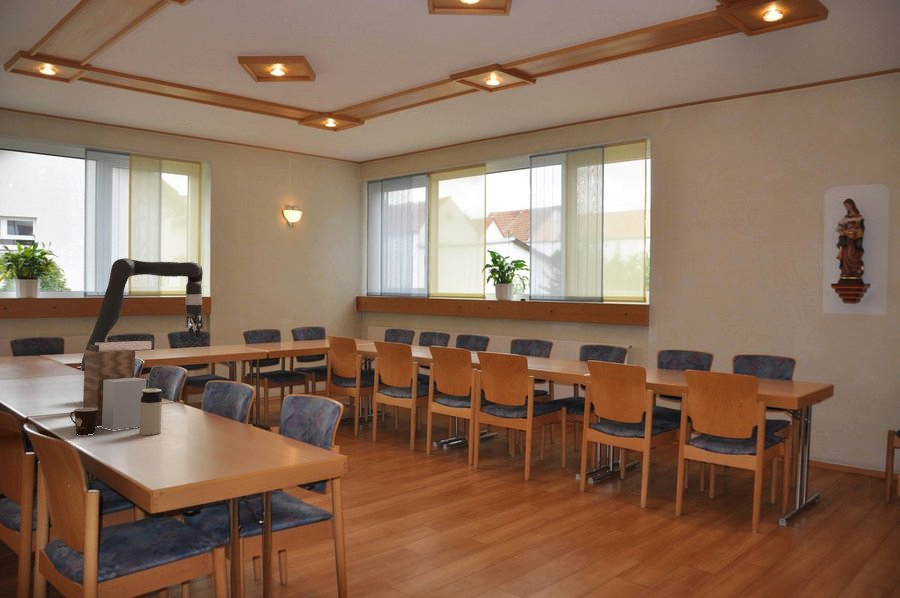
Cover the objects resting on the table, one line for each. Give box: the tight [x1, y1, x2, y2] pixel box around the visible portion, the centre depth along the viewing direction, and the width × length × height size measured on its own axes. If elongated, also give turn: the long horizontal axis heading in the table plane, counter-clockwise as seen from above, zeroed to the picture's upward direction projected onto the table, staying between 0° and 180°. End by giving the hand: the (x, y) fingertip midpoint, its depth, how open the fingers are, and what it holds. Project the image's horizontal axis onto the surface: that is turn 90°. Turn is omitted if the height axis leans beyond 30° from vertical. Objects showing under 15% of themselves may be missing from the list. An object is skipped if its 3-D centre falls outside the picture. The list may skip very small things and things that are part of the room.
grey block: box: [101, 376, 148, 430], centre depth 293 cm, size 14×9×20 cm, turn 144°
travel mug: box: [139, 388, 163, 436], centre depth 283 cm, size 8×8×18 cm
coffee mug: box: [69, 407, 98, 436], centre depth 278 cm, size 12×9×10 cm
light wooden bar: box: [95, 340, 153, 351], centre depth 305 cm, size 24×4×4 cm, turn 144°
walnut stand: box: [82, 345, 136, 427], centre depth 300 cm, size 16×12×34 cm
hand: (194, 337), depth 331 cm, fingers open, 8 cm apart
